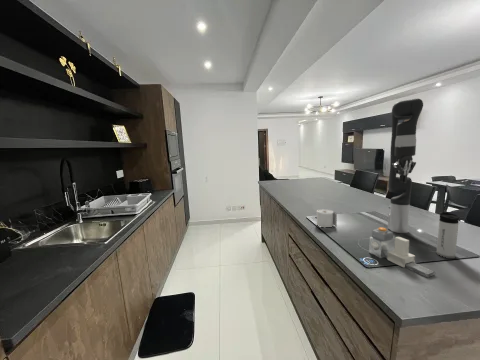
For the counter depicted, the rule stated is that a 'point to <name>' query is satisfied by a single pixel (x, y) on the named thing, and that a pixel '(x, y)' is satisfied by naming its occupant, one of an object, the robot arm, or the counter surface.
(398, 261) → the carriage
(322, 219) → the toilet tissue
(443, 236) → the travel mug
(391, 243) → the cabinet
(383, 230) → the plunger
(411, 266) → the rail
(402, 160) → the robot arm
